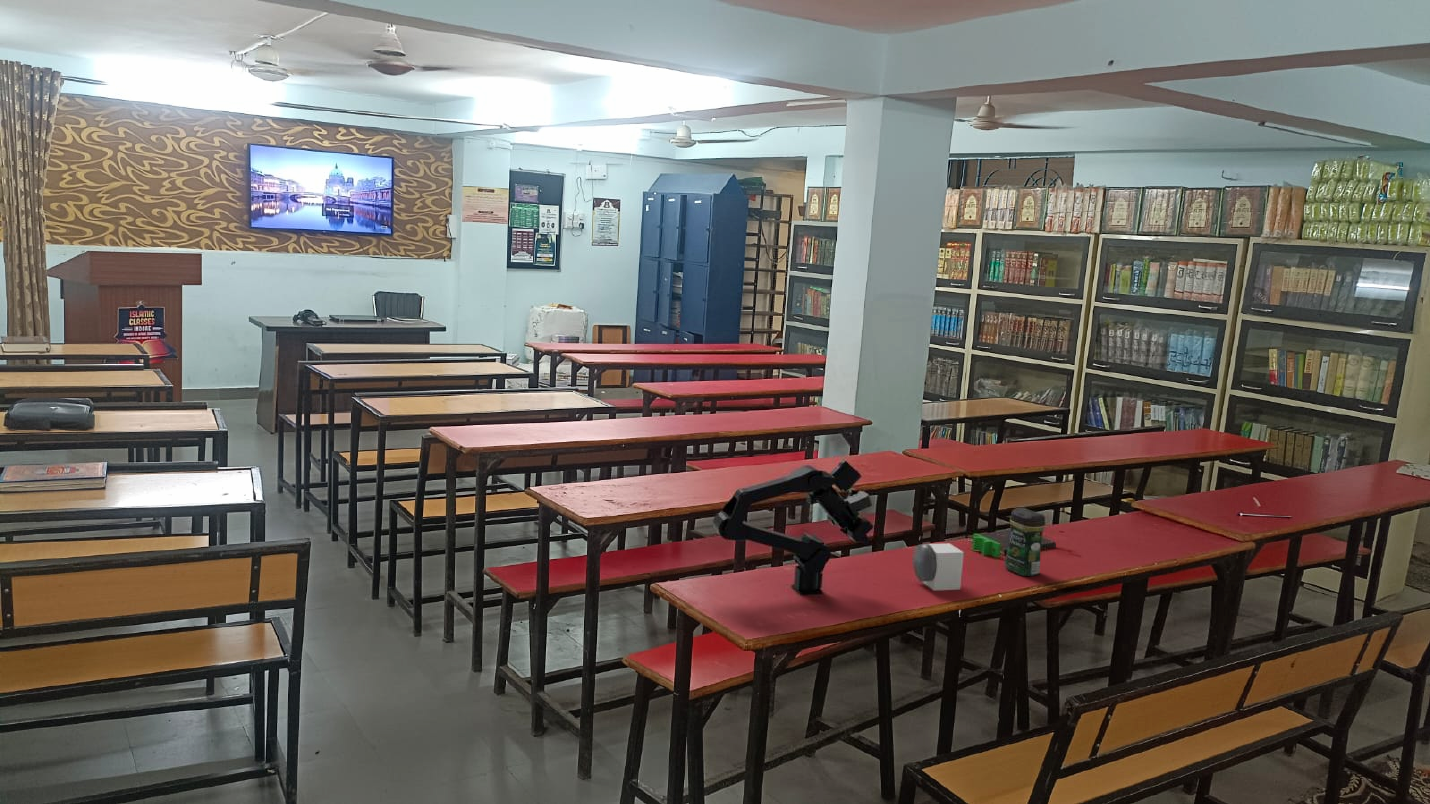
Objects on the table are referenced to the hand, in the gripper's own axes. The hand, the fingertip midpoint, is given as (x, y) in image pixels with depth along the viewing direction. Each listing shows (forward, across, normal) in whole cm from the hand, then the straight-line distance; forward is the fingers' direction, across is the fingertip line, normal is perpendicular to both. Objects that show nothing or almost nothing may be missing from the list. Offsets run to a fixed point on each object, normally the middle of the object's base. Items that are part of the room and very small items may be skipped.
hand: (868, 543), depth 263 cm
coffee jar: (+46, +8, -29) cm, 55 cm away
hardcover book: (+55, +33, -37) cm, 74 cm away
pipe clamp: (+45, +26, -27) cm, 58 cm away
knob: (+22, 0, -6) cm, 23 cm away
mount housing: (+25, 0, -7) cm, 26 cm away
